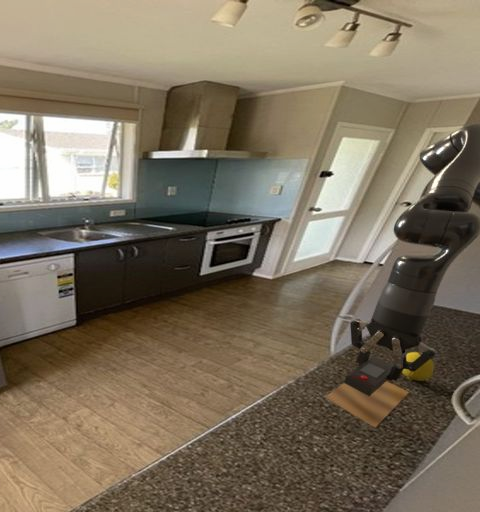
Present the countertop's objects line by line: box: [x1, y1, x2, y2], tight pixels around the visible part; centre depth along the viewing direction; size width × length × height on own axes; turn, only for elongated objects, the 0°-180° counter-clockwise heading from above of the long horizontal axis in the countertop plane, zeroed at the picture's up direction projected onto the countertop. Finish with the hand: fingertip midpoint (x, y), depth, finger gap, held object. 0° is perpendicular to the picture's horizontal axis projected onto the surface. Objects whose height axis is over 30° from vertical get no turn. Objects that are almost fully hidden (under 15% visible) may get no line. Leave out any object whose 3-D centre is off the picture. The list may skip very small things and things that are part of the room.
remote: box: [343, 355, 394, 396], centre depth 63 cm, size 14×4×2 cm, turn 119°
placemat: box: [324, 380, 410, 429], centre depth 67 cm, size 20×9×1 cm, turn 119°
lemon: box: [402, 351, 435, 382], centre depth 71 cm, size 6×6×8 cm
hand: (376, 372), depth 65 cm, fingers closed on remote, 4 cm apart
